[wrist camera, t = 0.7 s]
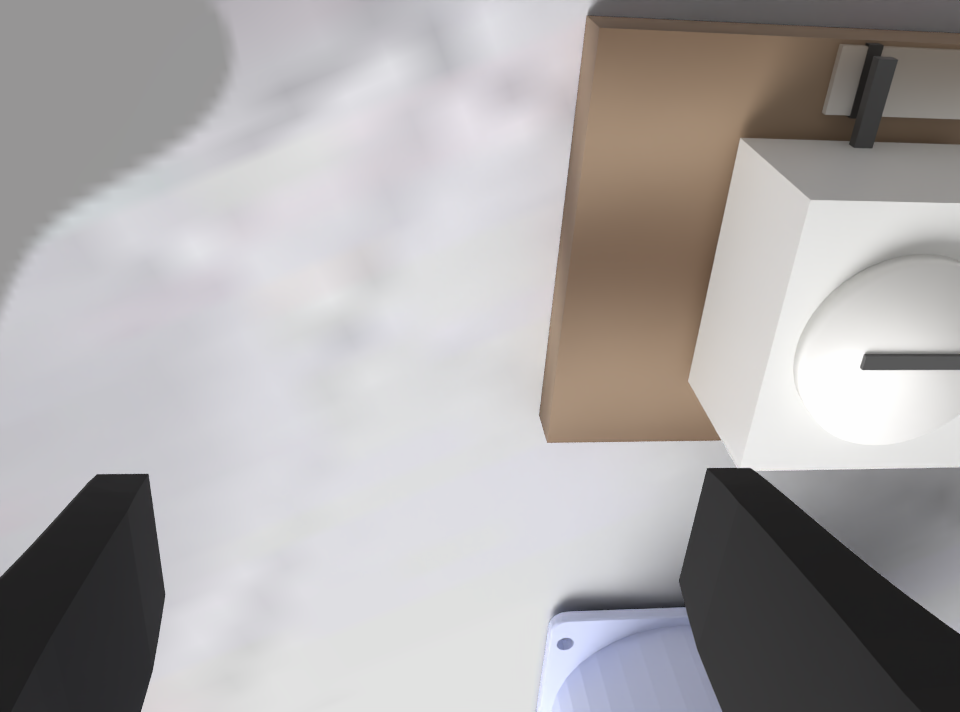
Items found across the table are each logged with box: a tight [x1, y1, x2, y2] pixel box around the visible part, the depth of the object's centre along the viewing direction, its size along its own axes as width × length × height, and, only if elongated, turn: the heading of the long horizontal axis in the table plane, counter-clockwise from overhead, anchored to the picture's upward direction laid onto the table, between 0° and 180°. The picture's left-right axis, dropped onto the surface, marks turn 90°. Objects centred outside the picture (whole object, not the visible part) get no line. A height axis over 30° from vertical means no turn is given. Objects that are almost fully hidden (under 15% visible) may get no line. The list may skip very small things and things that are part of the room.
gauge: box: [688, 56, 960, 471], centre depth 19 cm, size 8×8×4 cm
